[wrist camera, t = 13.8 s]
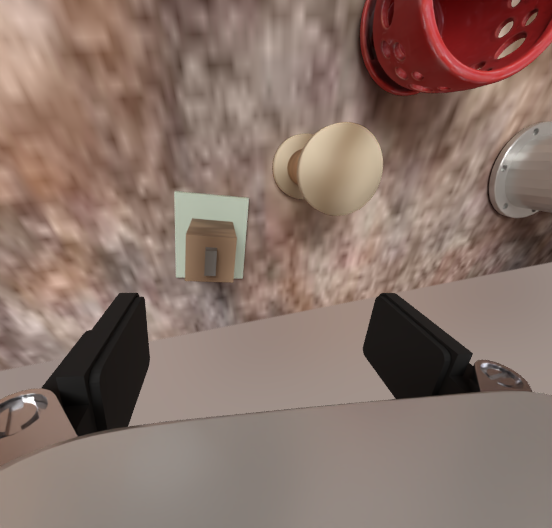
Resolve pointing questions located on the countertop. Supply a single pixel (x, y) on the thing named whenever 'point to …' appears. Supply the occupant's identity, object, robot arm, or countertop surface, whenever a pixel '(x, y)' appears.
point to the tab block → (210, 251)
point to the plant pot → (449, 42)
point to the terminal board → (209, 209)
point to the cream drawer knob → (330, 168)
